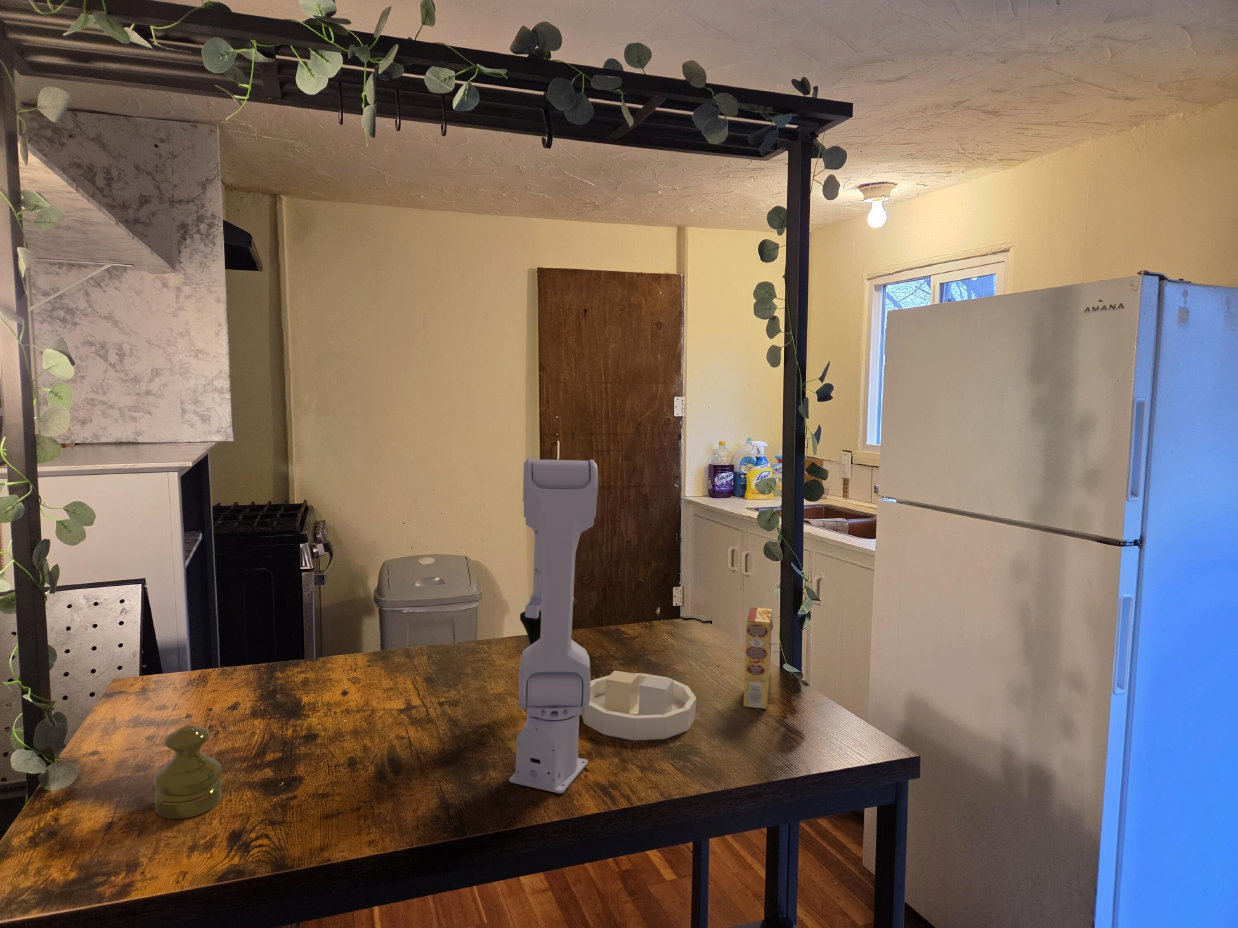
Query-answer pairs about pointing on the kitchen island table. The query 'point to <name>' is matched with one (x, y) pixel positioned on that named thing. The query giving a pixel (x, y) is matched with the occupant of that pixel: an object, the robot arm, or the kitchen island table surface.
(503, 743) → the kitchen island table surface
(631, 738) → the bowl
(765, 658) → the candy box
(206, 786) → the olive green knobbed piece
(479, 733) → the kitchen island table surface
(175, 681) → the kitchen island table surface
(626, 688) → the cream rectangular block
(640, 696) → the matte stone cube
